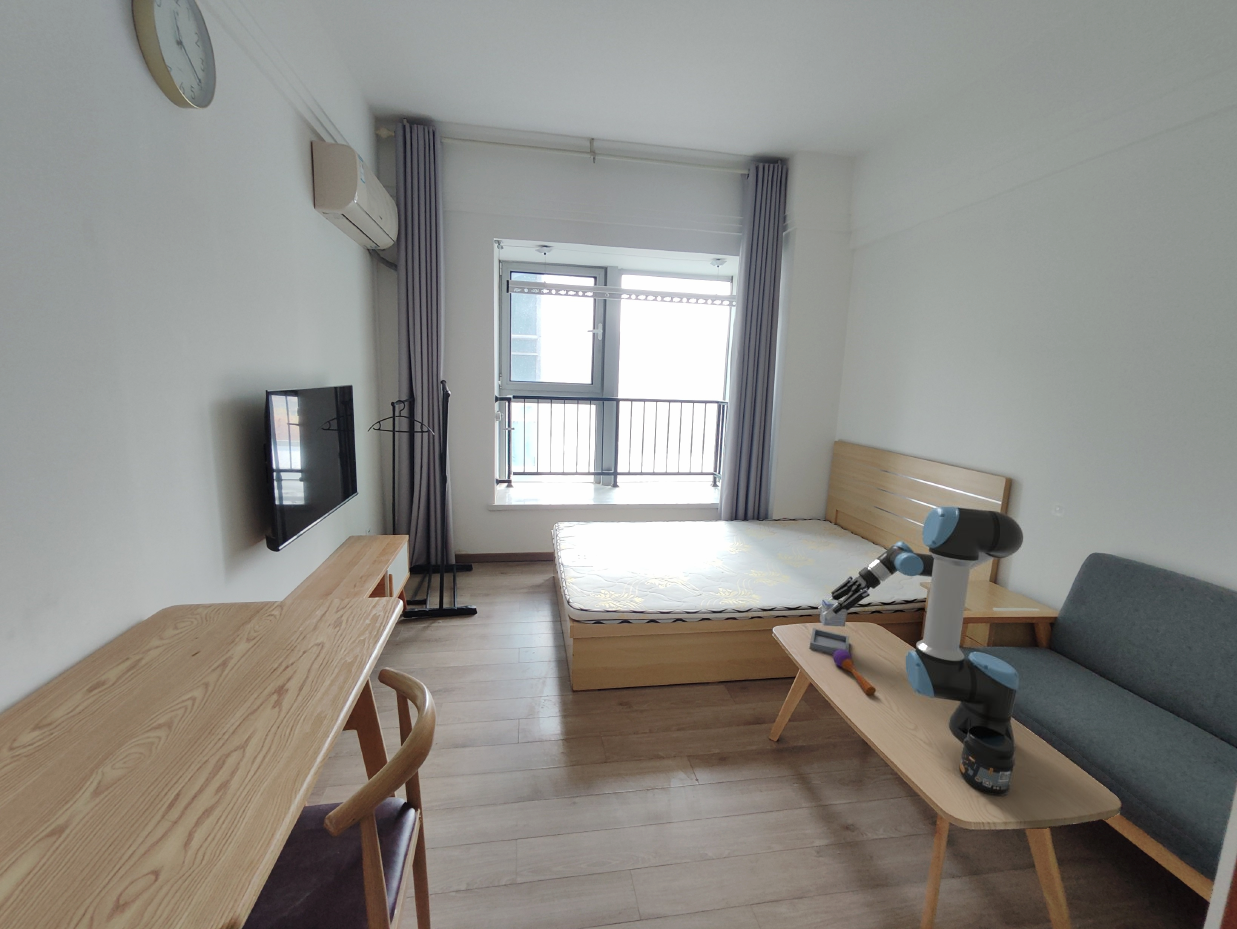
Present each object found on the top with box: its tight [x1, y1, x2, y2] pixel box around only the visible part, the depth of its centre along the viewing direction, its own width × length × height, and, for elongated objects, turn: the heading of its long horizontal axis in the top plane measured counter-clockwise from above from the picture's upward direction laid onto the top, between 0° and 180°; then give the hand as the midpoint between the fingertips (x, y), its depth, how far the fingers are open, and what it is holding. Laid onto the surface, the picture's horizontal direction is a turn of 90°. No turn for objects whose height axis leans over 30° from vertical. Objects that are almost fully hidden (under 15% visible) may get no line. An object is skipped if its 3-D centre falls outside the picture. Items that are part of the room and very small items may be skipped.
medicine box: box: [819, 598, 848, 628], centre depth 191 cm, size 8×4×9 cm, turn 89°
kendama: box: [832, 649, 877, 696], centre depth 172 cm, size 6×6×20 cm
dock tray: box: [809, 627, 850, 655], centre depth 193 cm, size 13×13×2 cm
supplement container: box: [958, 726, 1016, 796], centre depth 128 cm, size 10×10×12 cm
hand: (823, 613), depth 191 cm, fingers closed on medicine box, 4 cm apart
